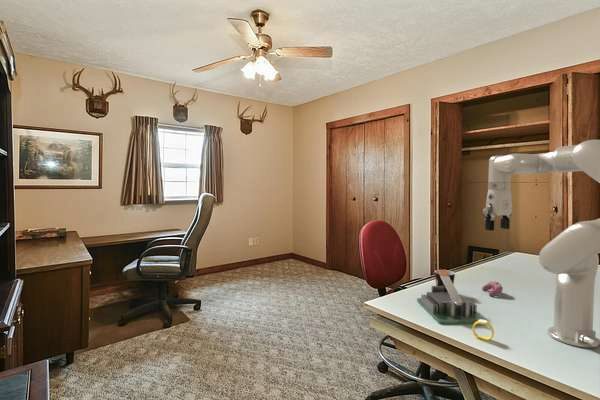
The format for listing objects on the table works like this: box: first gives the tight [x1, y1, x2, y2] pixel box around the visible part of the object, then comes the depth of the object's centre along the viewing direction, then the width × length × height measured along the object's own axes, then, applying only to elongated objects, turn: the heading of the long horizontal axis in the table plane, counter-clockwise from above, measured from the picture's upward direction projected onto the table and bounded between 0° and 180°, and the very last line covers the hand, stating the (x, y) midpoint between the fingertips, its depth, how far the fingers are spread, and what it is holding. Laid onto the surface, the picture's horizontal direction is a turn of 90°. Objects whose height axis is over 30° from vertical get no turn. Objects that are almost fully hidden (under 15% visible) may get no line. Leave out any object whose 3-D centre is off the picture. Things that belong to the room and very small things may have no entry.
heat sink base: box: [416, 285, 487, 325], centre depth 124 cm, size 22×17×7 cm
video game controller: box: [481, 280, 504, 298], centre depth 145 cm, size 10×5×7 cm, turn 169°
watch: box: [471, 319, 495, 341], centre depth 102 cm, size 6×3×6 cm, turn 55°
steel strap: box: [437, 269, 464, 306], centre depth 123 cm, size 18×3×1 cm
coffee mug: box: [434, 269, 456, 292], centre depth 144 cm, size 12×9×10 cm
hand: (497, 229), depth 126 cm, fingers open, 9 cm apart
